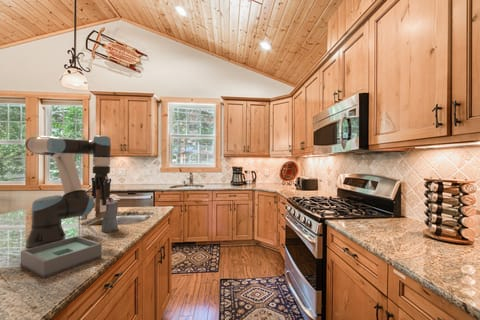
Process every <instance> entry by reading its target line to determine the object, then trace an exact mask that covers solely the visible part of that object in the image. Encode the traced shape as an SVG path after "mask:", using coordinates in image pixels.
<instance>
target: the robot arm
mask: <svg viewBox="0 0 480 320" xmlns="http://www.w3.org/2000/svg"><path fill="white" fill-rule="evenodd" d="M111 147H112V144H111V137H110V136H105V135H94V137H93V140H89V139H80V138H79V139H77V138H69V137H60V136H50V135H34V136H31V137H28V139H26V141H25V148H26V150H28V151H29V152H30V153H33V154H34V155H40V156H41V155H42V156H50V157H51V159H52V160H53V161H54V162H56V166H57V170H58V173H59V177H60V181H61V185H62V189H63V192H64V194H63V195H61V194H60V195H50V196H44V197H41V198H40V197H39V198H37V199H35V200H33V202H32V204H31V209H30V210H31V229H30V232H29V233H28V237H27V239H26V241H25V247H27V248H34V247H37V246H41V245H45V244H49V243H53V242H57V241H60V240H64V239H66V233H65V231H64V229H63V226H62V221H63V220H65V219H71V218H77V217H78V218H79V217H82V216H87V215H89V214H91V213H92V211H93V210H94V212H96V189H101V198H100V212H104V211H106V201H107V199H108V198H110V197H111V196H110V194H111V182H112V179H111V178H109V176H108V174H110V173H111V149H112V148H111ZM76 155H87V156H88V155H91V156H92V174H94V177H91V194H88V193H87V190H85V189H84V188H83V187H82V183H81V179H80V176H79V172H78V169H77V165H76V161H75V159H74V158H75V157H76Z"/></svg>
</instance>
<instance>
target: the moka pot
mask: <svg viewBox="0 0 480 320" xmlns="http://www.w3.org/2000/svg"><path fill="white" fill-rule="evenodd" d="M107 199H108V200H106V211H105V216H103V217H102V225H101V232H102V233H111V232H115V230H116V231H118V230H119V223H118V219H117V215H118V210H119V201H117V200H114V199H113V198H112V197H111V198H110V197H109V198H107Z"/></svg>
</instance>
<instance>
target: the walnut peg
mask: <svg viewBox="0 0 480 320" xmlns="http://www.w3.org/2000/svg"><path fill="white" fill-rule="evenodd" d="M100 198H101V189H96V211H95V213H94V214H95V216H94V217H95V218H103V216H105V211H104V212H100Z"/></svg>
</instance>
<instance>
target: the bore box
mask: <svg viewBox="0 0 480 320" xmlns="http://www.w3.org/2000/svg"><path fill="white" fill-rule="evenodd" d="M102 246H103V244H102V242H98V241H96V240H95V241H94V240H92V239H87V238H84V237H81V236H78V235H76V236H71V237H69V238H65V239H64V240H60V241H57V242H53V243H49V244H45V245H41V246H37V247H29V248H27V249H22V250H20V260H19V261H20V263H19V264H20V267H21V268H23V269H25V270H27V271H29V272H31V273H33V274H35V275H36V276H38V277H40V278H42V279H43V278H44V279H46V278H49V277H51V276H52V277H53V276H55V275H57V274H60V273H63V272H66V271H68V270H71V269H73V268H76V267H79V266H81V265H84V264H86V263H90V262H93V261H95V260H98V259H101V258H102V253H103V252H102V251H103V250H102Z"/></svg>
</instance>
